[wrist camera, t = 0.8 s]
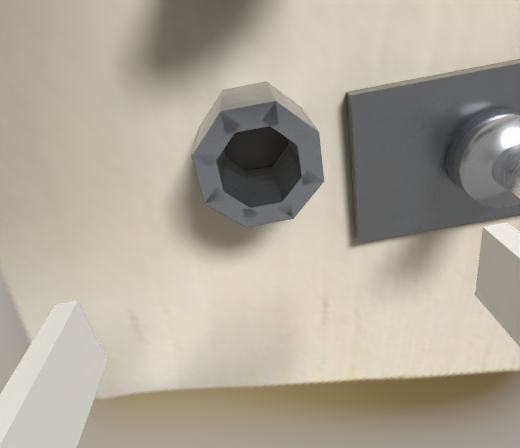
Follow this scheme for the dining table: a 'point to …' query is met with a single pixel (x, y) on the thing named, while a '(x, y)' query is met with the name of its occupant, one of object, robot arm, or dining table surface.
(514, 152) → the shaft fixture
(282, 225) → the dining table surface
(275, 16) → the dining table surface
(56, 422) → the robot arm
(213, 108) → the tube
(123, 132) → the dining table surface
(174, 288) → the dining table surface
